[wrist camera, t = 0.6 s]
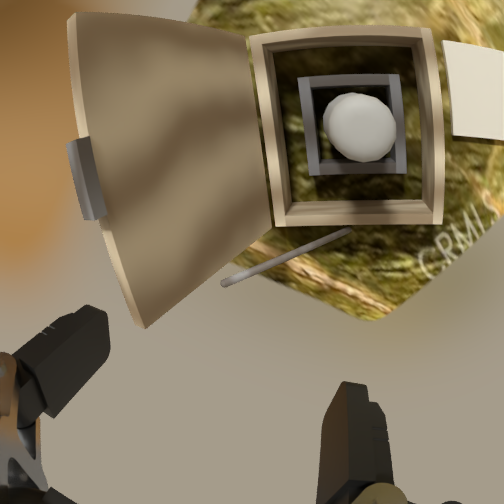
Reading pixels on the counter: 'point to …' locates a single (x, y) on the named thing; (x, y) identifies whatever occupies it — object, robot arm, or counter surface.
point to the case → (351, 210)
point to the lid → (165, 151)
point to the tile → (475, 89)
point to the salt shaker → (359, 127)
